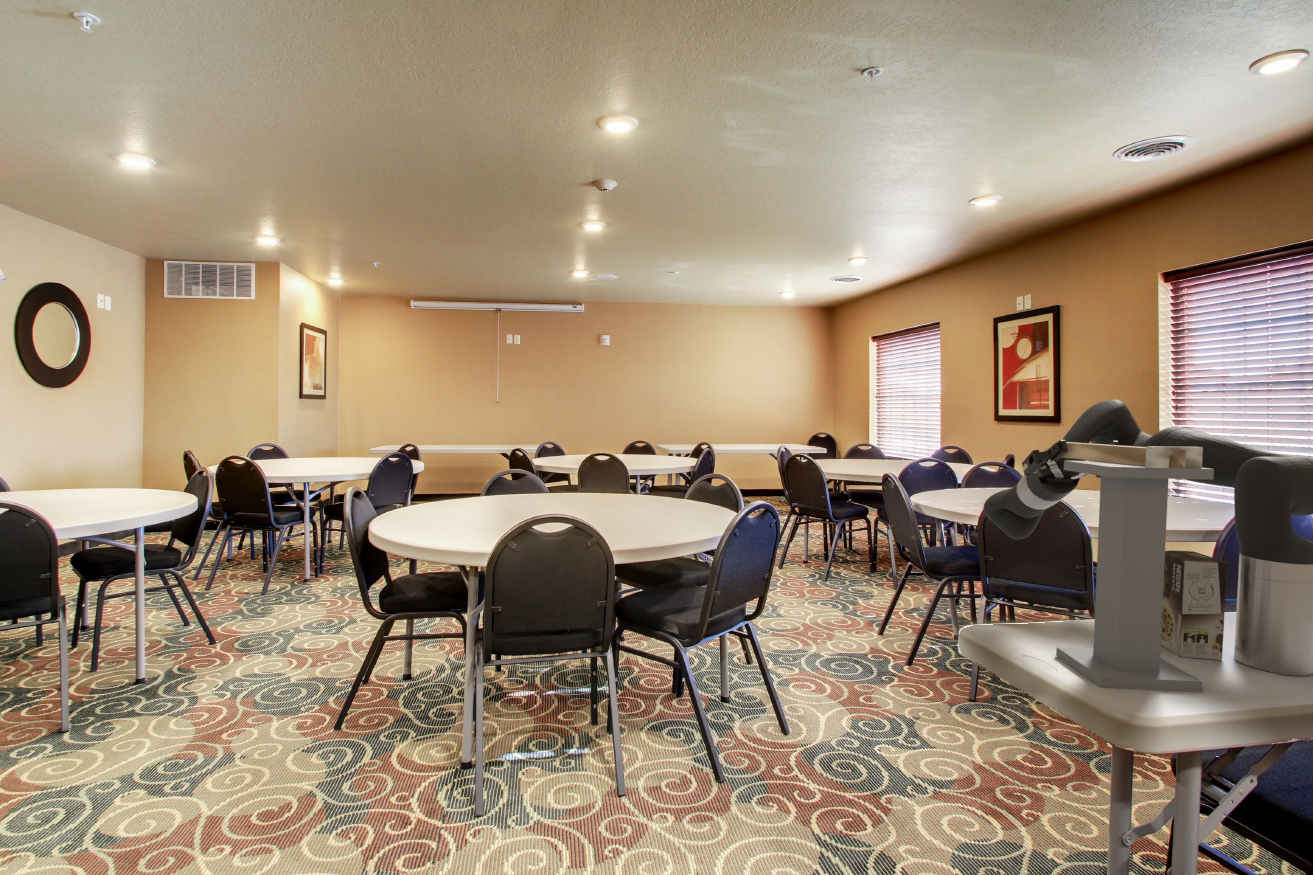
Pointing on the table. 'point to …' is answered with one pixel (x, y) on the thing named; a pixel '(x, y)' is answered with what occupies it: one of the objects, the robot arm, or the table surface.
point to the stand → (1130, 579)
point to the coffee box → (1193, 604)
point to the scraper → (1137, 455)
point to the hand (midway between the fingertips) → (1090, 445)
